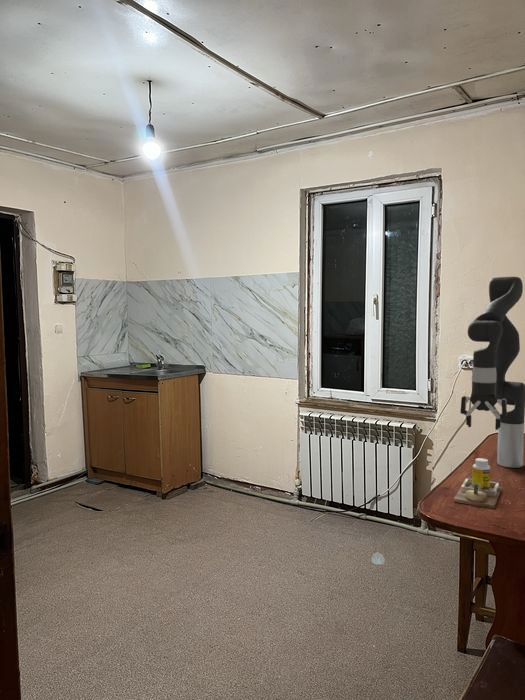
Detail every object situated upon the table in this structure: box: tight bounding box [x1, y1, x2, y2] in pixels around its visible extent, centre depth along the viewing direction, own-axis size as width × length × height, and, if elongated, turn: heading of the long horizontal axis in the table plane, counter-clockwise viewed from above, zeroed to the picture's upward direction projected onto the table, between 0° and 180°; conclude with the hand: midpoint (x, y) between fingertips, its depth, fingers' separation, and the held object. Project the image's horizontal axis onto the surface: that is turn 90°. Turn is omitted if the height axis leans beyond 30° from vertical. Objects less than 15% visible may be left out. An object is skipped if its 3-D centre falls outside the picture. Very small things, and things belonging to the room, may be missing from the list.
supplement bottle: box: [471, 457, 491, 490], centre depth 177 cm, size 6×6×10 cm
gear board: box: [453, 477, 502, 509], centre depth 174 cm, size 19×12×6 cm, turn 149°
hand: (483, 428), depth 176 cm, fingers open, 8 cm apart
